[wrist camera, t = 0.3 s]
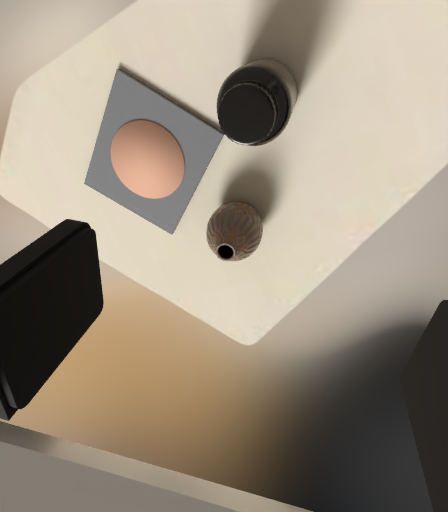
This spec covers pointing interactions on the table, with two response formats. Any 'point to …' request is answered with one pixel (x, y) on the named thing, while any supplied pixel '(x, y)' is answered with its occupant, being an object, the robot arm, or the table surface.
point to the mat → (150, 153)
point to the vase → (234, 231)
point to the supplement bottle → (256, 102)
